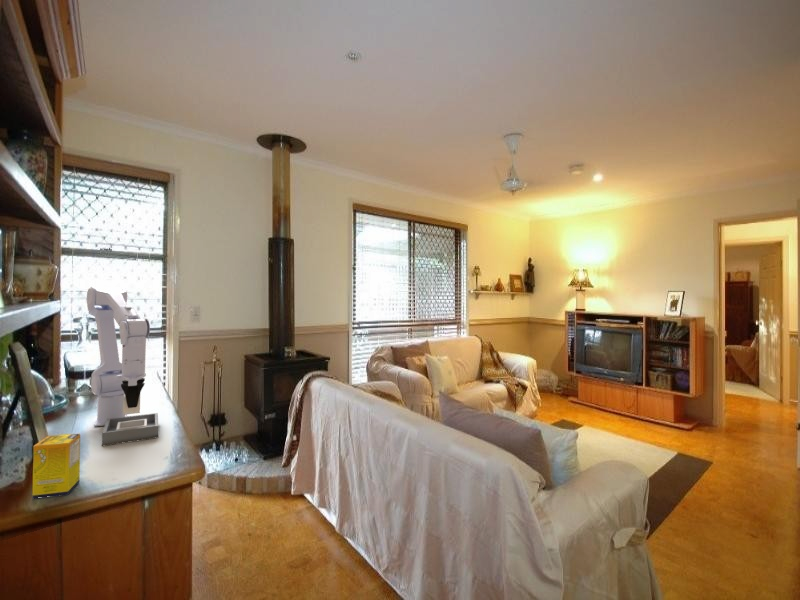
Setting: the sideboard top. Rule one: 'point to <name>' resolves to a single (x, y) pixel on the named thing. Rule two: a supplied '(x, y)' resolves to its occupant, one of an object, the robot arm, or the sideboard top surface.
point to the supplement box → (56, 465)
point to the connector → (130, 410)
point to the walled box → (130, 428)
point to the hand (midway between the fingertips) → (132, 405)
